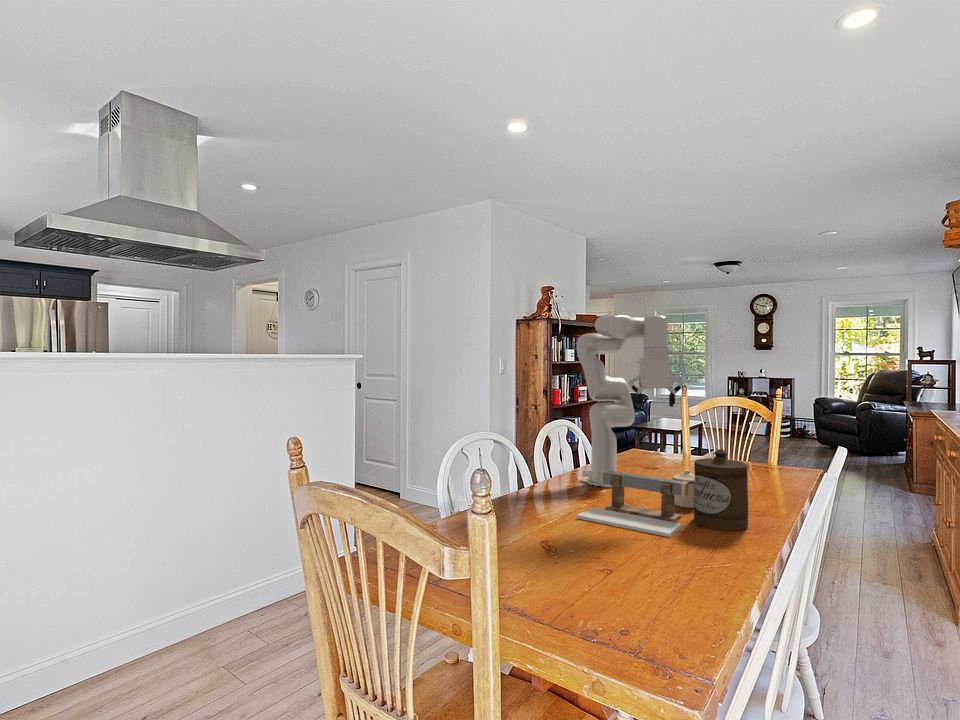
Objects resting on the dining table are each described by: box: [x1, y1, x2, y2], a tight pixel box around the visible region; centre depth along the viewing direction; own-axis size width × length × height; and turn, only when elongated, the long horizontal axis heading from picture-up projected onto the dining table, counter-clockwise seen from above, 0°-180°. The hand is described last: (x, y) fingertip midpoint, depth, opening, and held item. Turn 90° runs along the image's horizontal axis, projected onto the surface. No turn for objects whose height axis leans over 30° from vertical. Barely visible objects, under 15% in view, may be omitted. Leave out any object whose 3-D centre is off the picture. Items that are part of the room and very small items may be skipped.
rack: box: [604, 476, 682, 523], centre depth 170 cm, size 22×6×11 cm, turn 54°
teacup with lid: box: [672, 469, 695, 509], centre depth 182 cm, size 12×9×12 cm
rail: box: [600, 470, 689, 496], centre depth 170 cm, size 27×4×4 cm, turn 54°
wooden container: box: [693, 448, 749, 532], centre depth 161 cm, size 15×15×22 cm
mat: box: [576, 506, 683, 538], centre depth 161 cm, size 28×11×1 cm, turn 54°
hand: (655, 406), depth 176 cm, fingers open, 9 cm apart
